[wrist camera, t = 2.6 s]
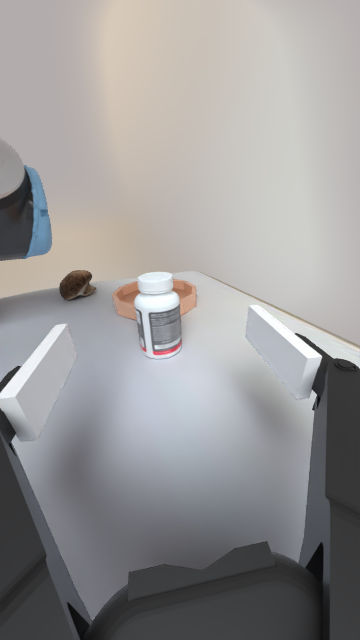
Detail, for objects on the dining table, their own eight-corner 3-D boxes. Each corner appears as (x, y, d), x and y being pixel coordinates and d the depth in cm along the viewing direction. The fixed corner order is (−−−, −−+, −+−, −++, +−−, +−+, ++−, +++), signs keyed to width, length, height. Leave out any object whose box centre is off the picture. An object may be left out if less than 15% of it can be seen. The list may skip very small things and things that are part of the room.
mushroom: (108, 277, 48) (85, 256, 45) (92, 302, 43) (64, 281, 40) (89, 290, 53) (67, 272, 49) (73, 314, 48) (47, 295, 44)
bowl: (97, 307, 41) (94, 296, 40) (152, 284, 53) (151, 275, 52) (162, 329, 33) (161, 315, 32) (210, 296, 44) (210, 285, 43)
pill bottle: (187, 340, 30) (185, 271, 25) (172, 364, 25) (167, 285, 21) (152, 334, 32) (145, 269, 27) (133, 355, 27) (120, 281, 23)
